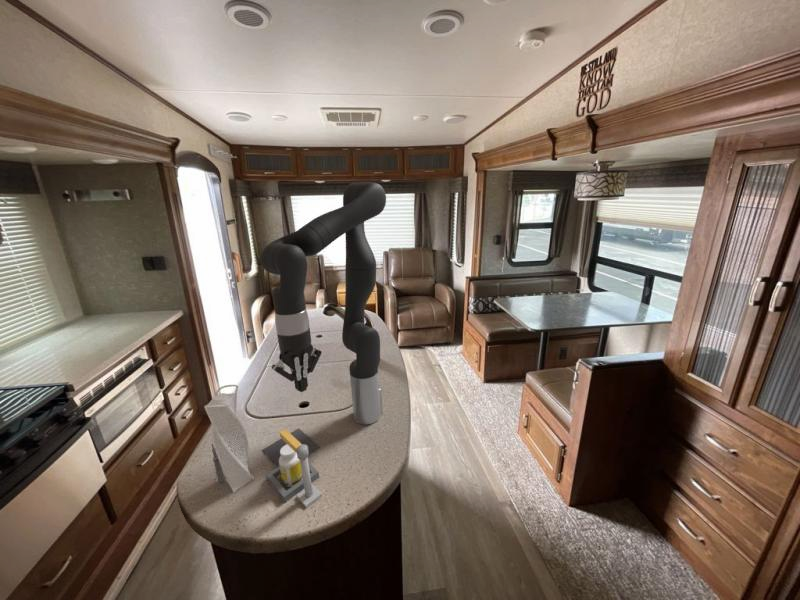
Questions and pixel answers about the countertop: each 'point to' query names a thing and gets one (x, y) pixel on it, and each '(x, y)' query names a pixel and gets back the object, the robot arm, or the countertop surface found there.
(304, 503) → the socket
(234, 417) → the skyscraper
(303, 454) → the yellow lever
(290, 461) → the supplement bottle
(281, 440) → the mat
